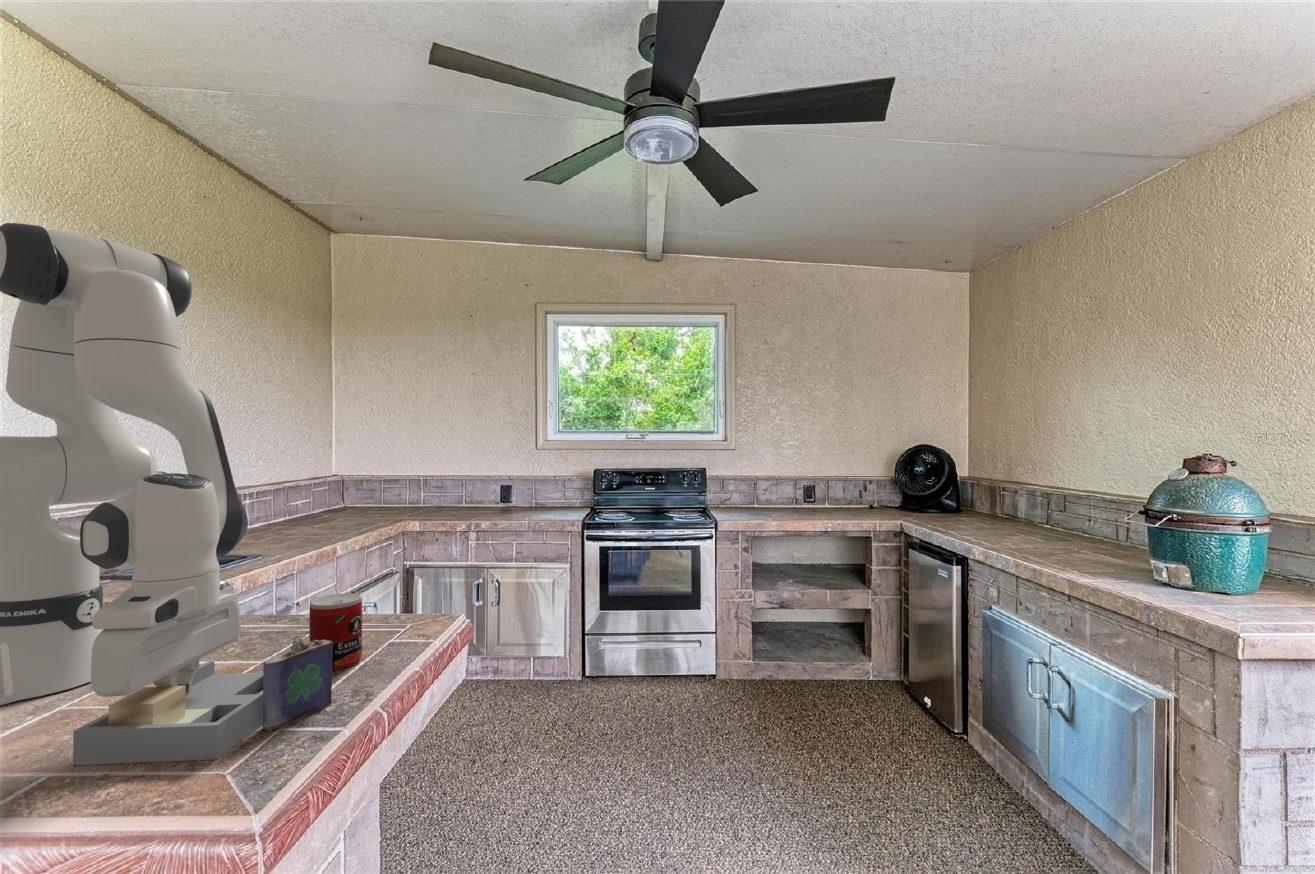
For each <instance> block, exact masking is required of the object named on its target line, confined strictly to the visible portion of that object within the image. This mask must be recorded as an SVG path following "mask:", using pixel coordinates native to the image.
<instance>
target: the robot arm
mask: <svg viewBox="0 0 1315 874" xmlns="http://www.w3.org/2000/svg"><path fill="white" fill-rule="evenodd" d="M192 287H193V286H192V281H191V278H190V276H189V274H188V272H187V270H186V269H185V267H184V266H183V265H182V264H180V263H179V262H176V261H174V260H172V259H170V258H168V257H166V256H163V255H161V254H159V253H149V252H146V251H144V250H141V249H138V248H135V247H132V246H129V245H125V244H123V243H119V242H116V241H111V240H108V239H105V238H104V239H103V238H99V239H98V238H96V237H95V238H94V237H90V236H85V235H80V234H77V233H76V234H75V233H71V232H65V231H59V230H54V229H53V230H52V229H46V228H44V227H43V226H41V225H37V224H36V225H35V224H29V223H28V224H26V223H18V222H6V223H4V224H1V225H0V293H2V294H3V295H6V296H9V297H11V298H14V299H18V300H19V302H18V306H17V307H16V308H17V309H16V312H15V315H14V320H13V323H12V327H11V332H10V333H11V334H10V341H9V350H8V361H7V370H6V371H7V373H6V381H5V382H6V383H5V390H6V392H7V395H8V396H9V398H10V400H12V401H13V402H14V403H15V404H17V405H18V406H20V407H21V408H24V409H25V410H28V411H30V412H32V413H35V414H37V415H40V416H43V417H45V418H48V419H51V420H52V421H54V423H55V425H56V435H53V436H52V435H51V436H18V435H17V436H16V435H15V436H6V435H5V436H4V435H3V436H1V435H0V706H3V705H7V704H11V703H13V702H17V701H18V702H19V701H21V700H22V701H23V700H26V699H27V700H28V699H32V698H38V697H42V696H46V695H50V694H54V693H58V692H62V691H66V690H69V689H73V688H76V687H79V686H82V685H85V684H87V683H90V685H91V690H92V691H93V692H94V693H95V694H96V696H98V697H104V698H105V697H106V698H107V697H110V698H111V697H126V696H128V695H130V694H132V693H134V692H136V691H138V690H140V689H142V688H144V687H148V685H151V684H152V683H153V685H155V687H169V686H185V697H187V696H189V695H190V694H191V693H192V682H193V679H194V677H195V675H196V672H197V670H198V668H199V666H200V659H202V658H204V657H206V656H208V655H211V654H212V653H214V652H217V651H218V650H220V649H221V648H224V647H225V646H228V645H230V644H232V643H234V642H236V641H237V640H238V639H239V636H240V634H241V632H242V622H241V620H242V619H241V611H240V610H241V609H240V603H239V600H238V597H237V596H236V595H235V589H234V586H233V585H231V583H229V582H228V581H227V580H220V578H221V577H220V576H221V575H220V572H221V571H220V570H221V569H220V562H219V560H218V558H220V557H221V558H222V557H224V556H226V555H228V554H229V553H230V552H232V550H234V549H235V548H236V547H237V546H238V544H240V543H241V541H242V540H243V538H244V537H245V535H246V533H247V532H248V525H249V520H248V519H249V518H248V514H247V512H246V508H245V506H244V504H243V502H242V499H241V497H240V495H239V494H238V491H237V489H236V488H237V487H236V485H235V482H234V477H233V474H232V470H231V466H230V462H229V458H228V454H227V450H226V446H225V443H224V438H223V434H222V431H221V427H220V424H219V420H218V416H217V414H216V411H215V408H214V407H215V406H214V405H213V403H212V401H211V398H210V397H209V395H208V394H207V393H205V392H204V391H203V390H201V389H199V388H198V387H197V386H196V385H195V383H194V382H193V381H192V379H191V377H190V376H189V374H188V372H187V370H186V367H185V365H184V362H183V356H182V346H181V338H180V337H181V336H180V331H179V330H180V329H179V324H178V319H177V318H178V317H179V316H180V315H183V314H184V312H186V310H187V309H188V307H189V305H190V303H191V298H192V292H193V291H192V290H193V288H192ZM114 410H116V411H118V412H121V413H124V414H126V415H130V416H133V417H136V418H139V419H142V420H144V421H147V422H150V423H152V424H155V425H156V426H159V427H160V428H163V429H165V430H166V431H167V432H169V433H170V434H171V435H172V436H173V437H174V438H175V439H176V440H177V442H178V443H179V445H180V448H181V449H180V450H181V451H182V452H181V453H182V457H183V460H184V464H185V469H186V472H187V473H181V472H179V473H173V472H172V473H170V472H169V473H157V471H158V469H157V468H158V466H157V465H158V464H157V461H156V457H155V455H154V454H153V452H152V451H151V449H149V448H148V446H147V445H145V444H144V443H142V442H141V441H139V440H138V439H136V438H135V437H134V436H132V435H131V434H130V433H129V432H127V430H126V429H125V428H124V427H123V425H122V424H121V423H120V422H119V420H118V417H116V414H115V411H114ZM85 503H86V504H87V503H88V504H89V503H101V504H99V505H97V506H96V507H94V508H93V509H92V510H91V511H90V512H88V514H87V515H86V516H85V517H84V518H83V519H82V520H81V523H80V524H81V525H80V528H76V527H72V526H69V525H65V524H61V523H57V522H55V520H53V517H52V516H51V513H50V507H51V506H59V505H60V506H62V505H72V504H75V505H76V504H85ZM100 568H102V569H105V570H127V569H132V568H133V569H134V570H133V574H132V578H131V587H130V588H128V589H126V590H125V591H123V593H122V594H120V595H119V596H117V597H116V598H115V599H113V600H112V601H110V602H109V603H107V604H106V605H104V596H105V595H104V594H105V593H104V588H103V585H101V584H100ZM175 678H176V680H175Z"/></svg>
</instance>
